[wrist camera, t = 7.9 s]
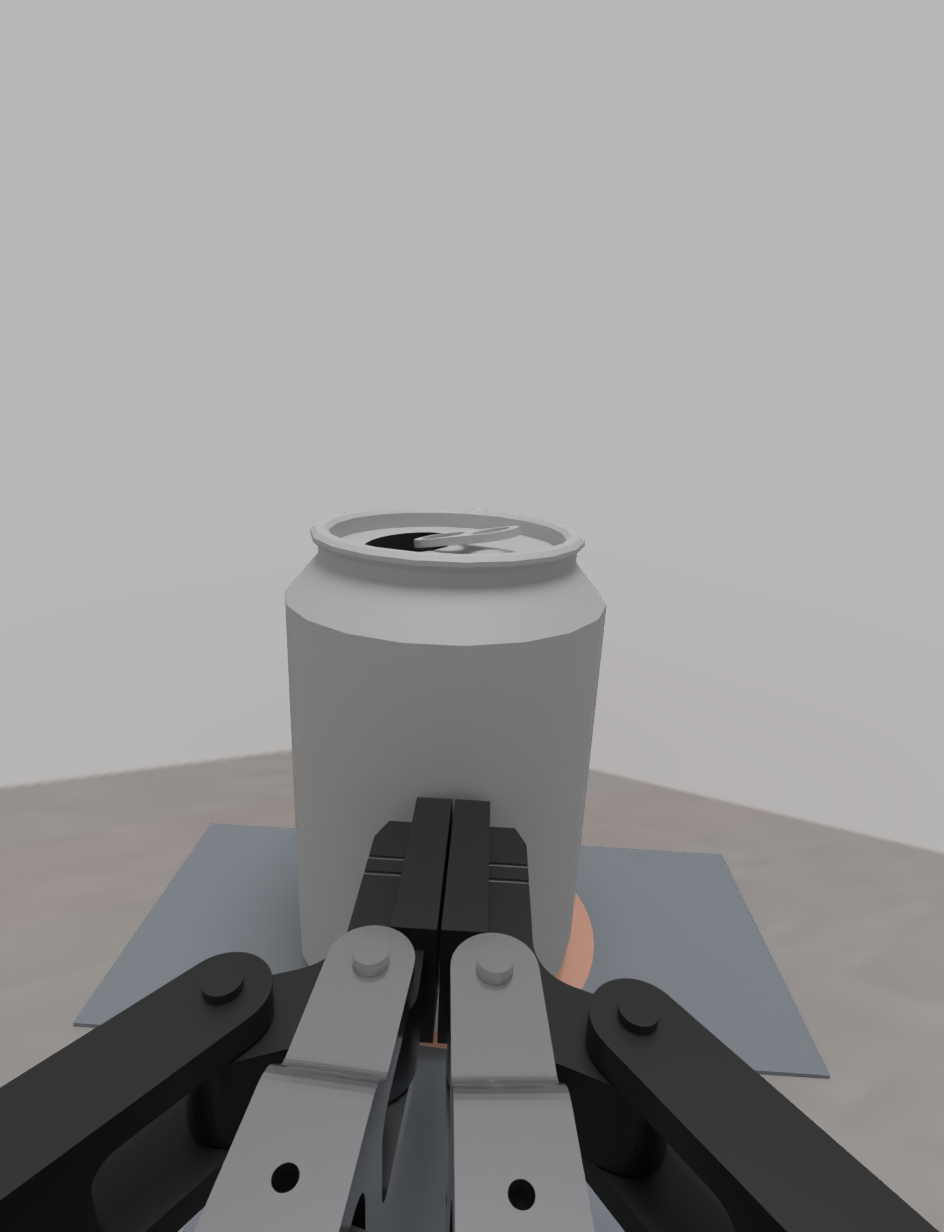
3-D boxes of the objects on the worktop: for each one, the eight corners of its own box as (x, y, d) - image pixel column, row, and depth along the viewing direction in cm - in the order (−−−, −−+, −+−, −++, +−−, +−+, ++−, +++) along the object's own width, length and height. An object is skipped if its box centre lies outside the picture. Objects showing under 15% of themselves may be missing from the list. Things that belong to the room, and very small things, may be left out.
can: (401, 827, 24) (404, 489, 20) (603, 905, 20) (651, 517, 17) (239, 975, 17) (202, 521, 14) (494, 1123, 14) (534, 576, 10)
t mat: (719, 861, 23) (721, 853, 23) (1343, 2156, 6) (1359, 2146, 6) (211, 830, 24) (211, 822, 24) (-546, 1947, 7) (-562, 1937, 6)
